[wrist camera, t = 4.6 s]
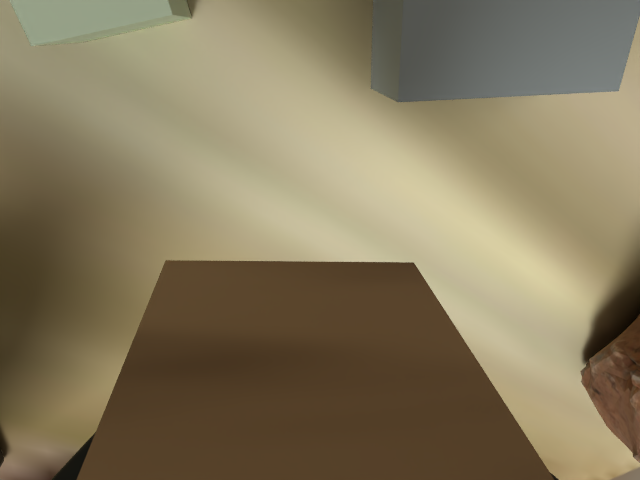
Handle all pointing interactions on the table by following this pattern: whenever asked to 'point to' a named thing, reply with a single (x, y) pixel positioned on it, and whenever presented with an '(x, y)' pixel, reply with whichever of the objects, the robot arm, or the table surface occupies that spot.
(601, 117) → the table surface
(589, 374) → the decorative rock
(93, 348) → the table surface
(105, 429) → the walnut cube
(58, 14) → the sage block
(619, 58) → the base block
